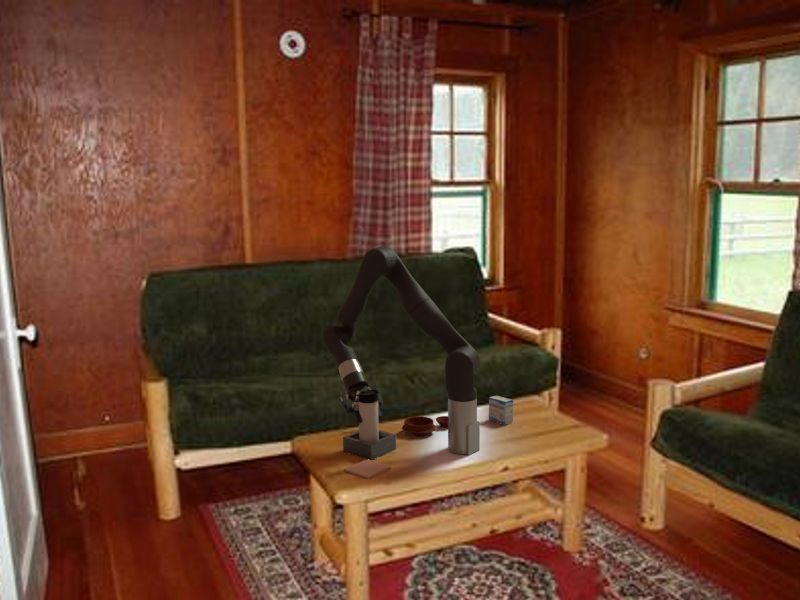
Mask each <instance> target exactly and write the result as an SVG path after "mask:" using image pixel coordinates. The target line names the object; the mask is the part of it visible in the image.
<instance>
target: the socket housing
mask: <svg viewBox="0 0 800 600" xmlns="http://www.w3.org/2000/svg"><path fill="white" fill-rule="evenodd" d="M342 449H343V450H342V452H343V453H345V452H346V453H345V454H348V453H350V454H349V455H352V454H353V455H352V456H355V455H356V457H358V456H359V458H361V457H362V458H361V459H364V458H365V459H369V460H371V461H374V460H376V459H378V458H380V457H382V456H384V454H385V455H387V454H389V453H391V452H393V450H394V451H396V450H397V435H396V434H395V433H391V432H388V431H385V430H380V429H379V440H377V441H375V442H372V443H368V442H364V441H361V440H359V430H357V431H354V432H352V433H350V434H347V435H344V436H342ZM395 449H396V450H395ZM386 453H387V454H386ZM377 457H378V458H377ZM375 458H376V459H375ZM365 459H364V460H365ZM373 459H374V460H373Z"/></svg>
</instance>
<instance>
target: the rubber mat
mask: <svg viewBox="0 0 800 600" xmlns="http://www.w3.org/2000/svg"><path fill="white" fill-rule="evenodd" d="M388 469H389V470H390V469H392V467H391V465H387V464H384V463H381V462H377V461H375V460H368V459H363V460H360V461H359V462H357V463H354V464H352V465H350V466H348V467H345V468H344V469H343V471H344V472H346V473H349V474H352V475H356V476H359V477H360V478H361V477H362V478H364V479H367V480H369V479H372V478H374V477H376V476H379V475H380V474H382V472H383V473H385V472H386V470H387V471H388ZM384 471H385V472H384Z"/></svg>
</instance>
